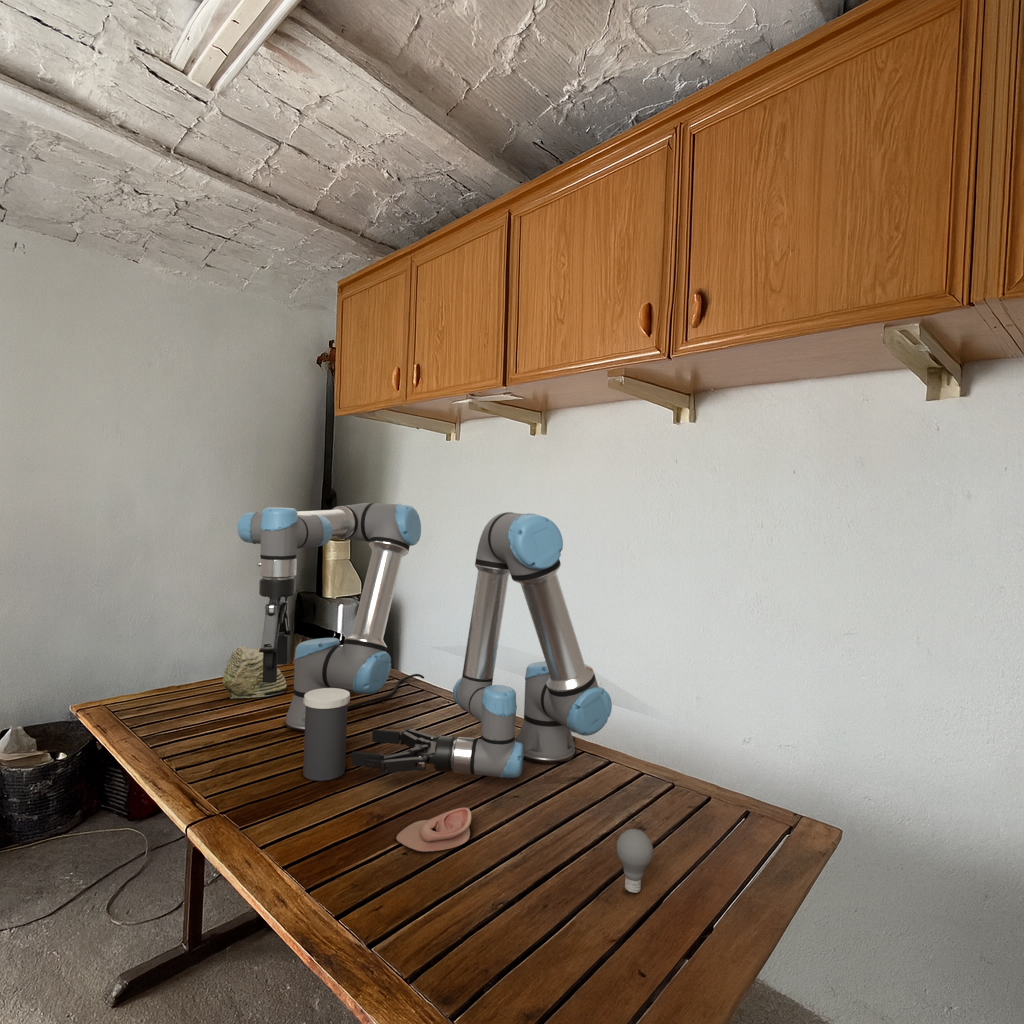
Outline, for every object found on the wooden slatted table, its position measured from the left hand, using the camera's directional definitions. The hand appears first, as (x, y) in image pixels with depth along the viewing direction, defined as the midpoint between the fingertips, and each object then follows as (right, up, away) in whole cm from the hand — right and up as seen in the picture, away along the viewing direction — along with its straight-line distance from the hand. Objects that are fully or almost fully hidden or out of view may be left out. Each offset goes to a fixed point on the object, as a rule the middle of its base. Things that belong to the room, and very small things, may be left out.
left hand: (275, 672), depth 140 cm
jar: (+9, -24, +5) cm, 26 cm away
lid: (+10, -7, +5) cm, 13 cm away
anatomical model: (+38, -26, -21) cm, 50 cm away
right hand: (+18, -18, +4) cm, 26 cm away
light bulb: (+73, -28, -35) cm, 85 cm away
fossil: (-28, -22, +58) cm, 68 cm away
